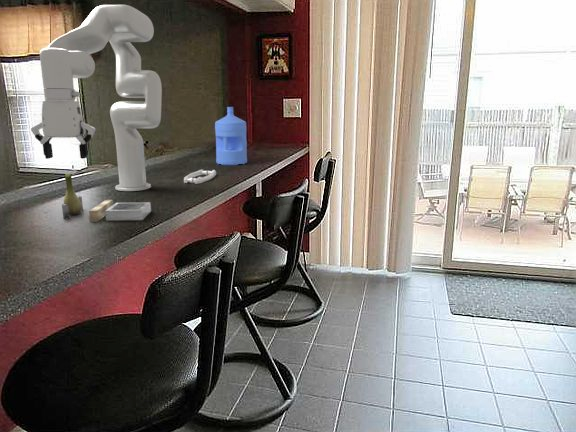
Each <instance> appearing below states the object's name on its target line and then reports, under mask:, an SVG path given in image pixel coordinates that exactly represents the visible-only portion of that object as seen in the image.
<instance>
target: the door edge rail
mask: <svg viewBox="0 0 576 432" xmlns="http://www.w3.org/2000/svg"><path fill="white" fill-rule="evenodd" d="M112 205H114V200H113V199H105V200H104V201H102V202H101V203H99V204H97V205H96V206H95V207H93V208H91V209H90V210H89V211H88V214H89V216H88V217H89V222H93V223H95V222H99V221H101V220H102V219H103V218H104V217H106V215H105V210H107V209H108V208H110V207H111V206H112Z"/></svg>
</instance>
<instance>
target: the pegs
mask: <svg viewBox="0 0 576 432" xmlns="http://www.w3.org/2000/svg"><path fill="white" fill-rule="evenodd" d="M77 197H78V198H79V200H80V202H81V205H82V210H81V211H83V210H84V206H83V205H84V204H83V197H82V196H80V195H77ZM61 211H62V217H63V220H67V219H70V217H71V215H69V208H68V204H64V203H62V204H61Z"/></svg>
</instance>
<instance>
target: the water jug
mask: <svg viewBox="0 0 576 432" xmlns="http://www.w3.org/2000/svg"><path fill="white" fill-rule="evenodd" d="M226 109H227V110H226V113H227V114H226V115H225V116H224V117H222V118H219V120H216V121H215V123H214V131H215V147H216V148H215V155H216V158H215V161H216V164H217V165H219V164H221V165H220V166H239V165H238V164H243V165H246V164H247V163H248V155H247V154H248V152H247V150H248V149H247V146H248V143H247V122H246V121H245V120H243V119H242V118H239V117H237V116H235V114H234V106H227V107H226ZM245 163H246V164H245Z"/></svg>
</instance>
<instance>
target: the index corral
mask: <svg viewBox="0 0 576 432" xmlns="http://www.w3.org/2000/svg"><path fill="white" fill-rule="evenodd" d="M151 205H152V204H151V202H150V201H148V202H145V201H144V202H115V203H113V205H112V206H111V207H110V208H108V209H107V210H105V215H106V216H105V221H107V222H108V221H144V219H145V218H146V217H147V216H148V215H150V213H151V212H152V207H151Z"/></svg>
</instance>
